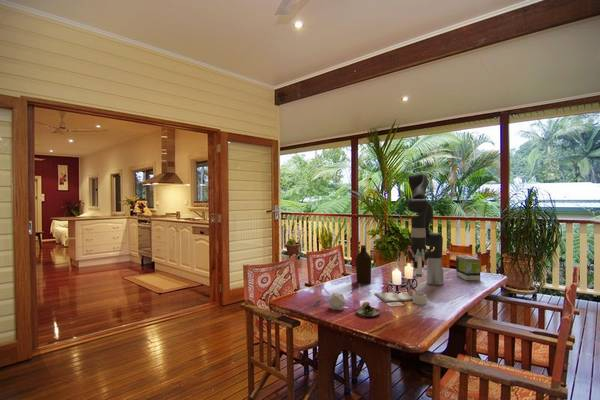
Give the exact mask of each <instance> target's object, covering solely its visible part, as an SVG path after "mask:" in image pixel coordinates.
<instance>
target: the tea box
mask: <svg viewBox="0 0 600 400" xmlns="http://www.w3.org/2000/svg"><path fill="white" fill-rule="evenodd" d="M455 257H456V258H455V262H456V263H455V268H456V270H455V275H456V276H457V277H459V278H461V279H462V280H465V281H467V280H479V281H481V259H480V258H478V257H475V256H472V255H469V254H468V255H455Z"/></svg>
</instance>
